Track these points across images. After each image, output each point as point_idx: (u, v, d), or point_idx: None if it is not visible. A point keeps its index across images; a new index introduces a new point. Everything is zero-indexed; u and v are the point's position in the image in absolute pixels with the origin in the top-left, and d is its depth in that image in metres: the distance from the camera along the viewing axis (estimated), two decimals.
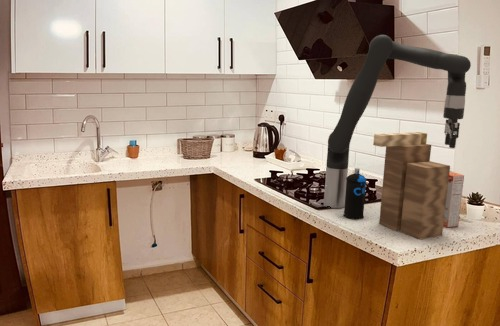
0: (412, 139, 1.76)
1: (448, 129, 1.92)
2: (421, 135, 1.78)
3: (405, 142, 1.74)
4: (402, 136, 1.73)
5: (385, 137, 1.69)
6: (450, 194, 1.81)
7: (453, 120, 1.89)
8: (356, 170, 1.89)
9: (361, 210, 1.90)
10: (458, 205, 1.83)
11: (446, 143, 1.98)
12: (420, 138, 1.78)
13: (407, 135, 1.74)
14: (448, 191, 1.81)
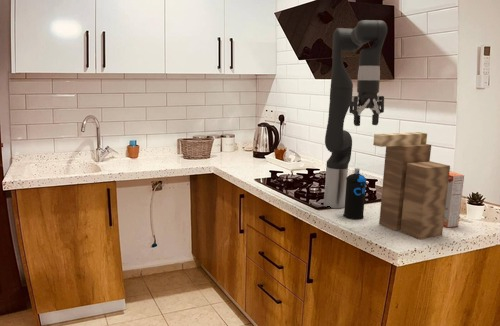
0: (412, 139, 1.76)
1: (374, 105, 1.67)
2: (421, 135, 1.78)
3: (405, 142, 1.74)
4: (402, 136, 1.73)
5: (385, 137, 1.69)
6: (450, 194, 1.81)
7: None
8: (356, 170, 1.89)
9: (361, 210, 1.90)
10: (458, 205, 1.83)
11: None
12: (420, 138, 1.78)
13: (407, 135, 1.74)
14: (448, 191, 1.81)
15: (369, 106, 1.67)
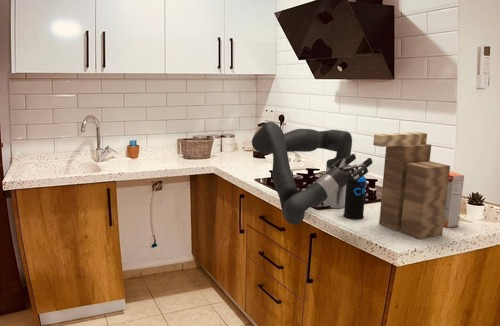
0: (412, 139, 1.76)
1: None
2: (421, 135, 1.78)
3: (405, 142, 1.74)
4: (402, 136, 1.73)
5: (385, 137, 1.69)
6: (450, 194, 1.81)
7: (348, 178, 1.62)
8: None
9: (361, 210, 1.90)
10: (458, 205, 1.83)
11: (354, 158, 1.72)
12: (420, 138, 1.78)
13: (407, 135, 1.74)
14: (448, 191, 1.81)
15: None
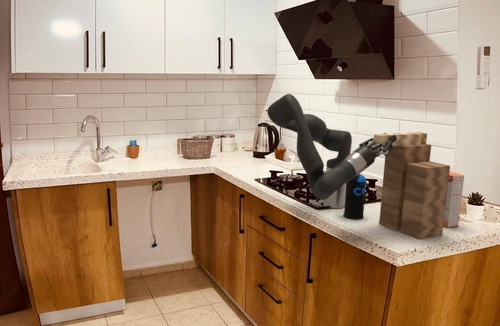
0: (412, 139, 1.76)
1: None
2: (421, 135, 1.78)
3: (405, 142, 1.74)
4: (402, 136, 1.73)
5: (385, 137, 1.69)
6: (450, 194, 1.81)
7: (376, 156, 1.66)
8: None
9: (361, 210, 1.90)
10: (458, 205, 1.83)
11: None
12: (420, 138, 1.78)
13: (407, 135, 1.74)
14: (448, 191, 1.81)
15: None
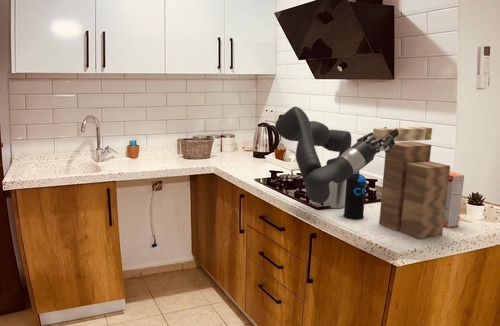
0: (415, 134, 1.59)
1: None
2: (425, 130, 1.61)
3: (408, 138, 1.58)
4: (404, 131, 1.56)
5: (386, 131, 1.52)
6: (450, 194, 1.81)
7: (375, 152, 1.50)
8: None
9: (361, 210, 1.90)
10: (458, 205, 1.83)
11: None
12: (424, 133, 1.61)
13: (410, 130, 1.58)
14: (448, 191, 1.81)
15: None
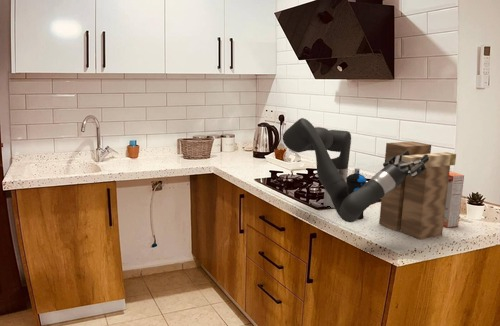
0: (441, 160, 1.68)
1: (410, 171, 1.61)
2: (450, 156, 1.70)
3: (434, 164, 1.66)
4: (431, 158, 1.65)
5: (414, 159, 1.61)
6: (450, 194, 1.81)
7: (405, 175, 1.58)
8: (356, 170, 1.89)
9: None
10: (458, 205, 1.83)
11: (408, 154, 1.68)
12: (449, 159, 1.70)
13: (436, 156, 1.66)
14: (448, 191, 1.81)
15: None
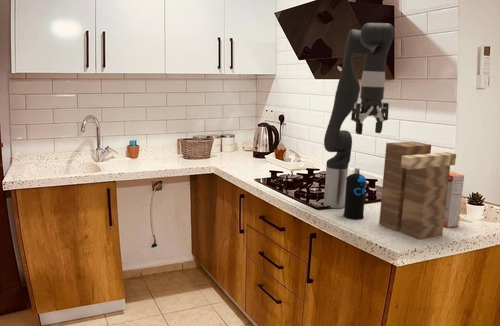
0: (441, 160, 1.68)
1: None
2: (450, 156, 1.70)
3: (434, 164, 1.66)
4: (431, 158, 1.65)
5: (414, 159, 1.61)
6: (450, 194, 1.81)
7: (361, 101, 1.57)
8: (356, 170, 1.89)
9: (361, 210, 1.90)
10: (458, 205, 1.83)
11: (376, 131, 1.63)
12: (449, 159, 1.70)
13: (436, 156, 1.66)
14: (448, 191, 1.81)
15: None
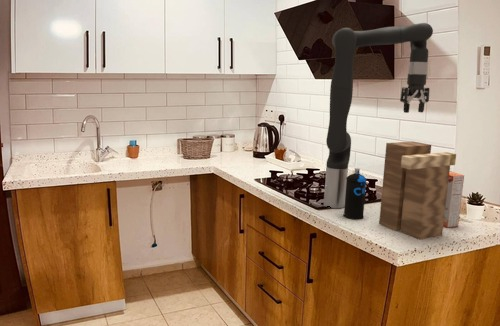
0: (441, 160, 1.68)
1: None
2: (450, 156, 1.70)
3: (434, 164, 1.66)
4: (431, 158, 1.65)
5: (414, 159, 1.61)
6: (450, 194, 1.81)
7: (408, 85, 1.96)
8: (356, 170, 1.89)
9: (361, 210, 1.90)
10: (458, 205, 1.83)
11: (419, 110, 2.02)
12: (449, 159, 1.70)
13: (436, 156, 1.66)
14: (448, 191, 1.81)
15: None
